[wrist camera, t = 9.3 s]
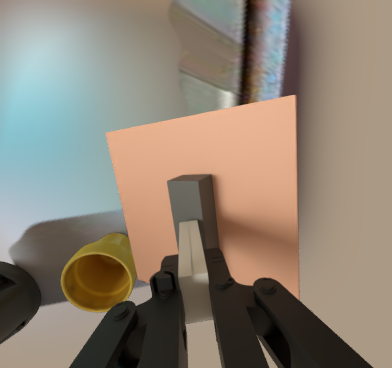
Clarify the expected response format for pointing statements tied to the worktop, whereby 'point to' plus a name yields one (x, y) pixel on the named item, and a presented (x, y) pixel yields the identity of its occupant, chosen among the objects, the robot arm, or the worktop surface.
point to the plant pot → (100, 274)
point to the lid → (215, 188)
